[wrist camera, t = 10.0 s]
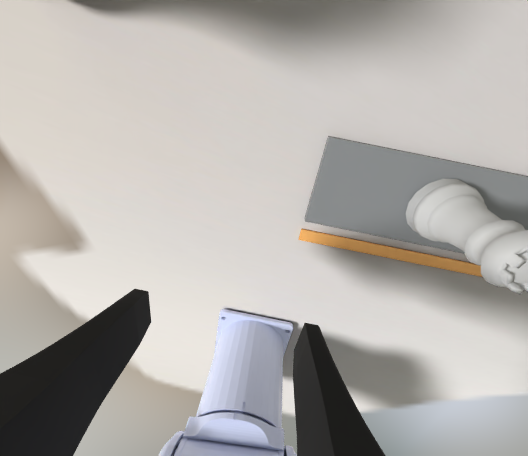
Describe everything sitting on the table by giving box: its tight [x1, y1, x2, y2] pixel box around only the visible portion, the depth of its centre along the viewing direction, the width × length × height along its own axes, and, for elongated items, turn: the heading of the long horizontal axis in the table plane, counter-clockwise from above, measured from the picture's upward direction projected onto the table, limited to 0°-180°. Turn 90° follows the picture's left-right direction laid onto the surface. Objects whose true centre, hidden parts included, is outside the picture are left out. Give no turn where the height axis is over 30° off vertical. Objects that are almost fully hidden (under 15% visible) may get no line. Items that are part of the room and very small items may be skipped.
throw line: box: [299, 229, 483, 277], centre depth 20 cm, size 1×20×1 cm, turn 80°
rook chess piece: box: [406, 179, 528, 294], centre depth 13 cm, size 4×4×8 cm
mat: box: [305, 136, 528, 254], centre depth 17 cm, size 6×20×1 cm, turn 80°
